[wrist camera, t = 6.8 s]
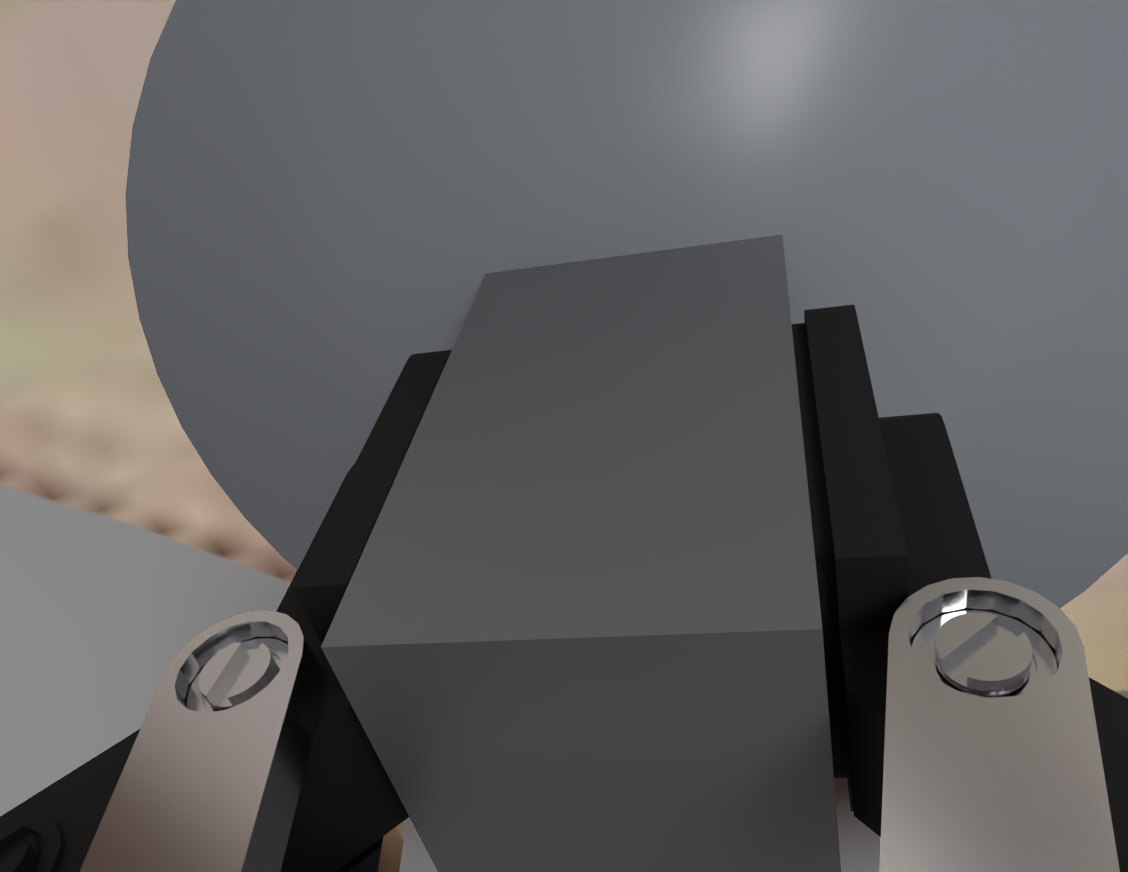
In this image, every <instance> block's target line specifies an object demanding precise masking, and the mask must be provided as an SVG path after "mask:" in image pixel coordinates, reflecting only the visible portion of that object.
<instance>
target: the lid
mask: <svg viewBox="0 0 1128 872" xmlns="http://www.w3.org/2000/svg"><path fill="white" fill-rule="evenodd" d="M126 211H127V235H128V258H129V263H130V269H131V274H132V280H133V285H134V291H135V296H136V302H137V307H138V313H139V318H140V321H141V324H142V327H143V331H144V334H145V337H146V340H147V343H148V346H149V349H150V352H151V355H152V358H153V362H154V365H155V368H156V371H157V374H158V376H159V378H160V381H161V383H162V385H163V387H164V389H165V391H166V393H167V396H168V398H169V400H170V402H171V404H172V406H173V408H174V411H175V413H176V415H177V417H178V419H179V421H180V424H181V426H182V428H183V429H184V431H185V432H186V434H187V436H188V437H189V439H190V441H191V442H192V444H193V445H194V447H195V449H196V450H197V452H198V454H199V455H200V457H201V458H202V460H203V462H204V463H205V465H206V467H207V468H208V470H209V471H210V473H211V475H212V476H213V477H214V478H215V480H216V481H217V482H218V484H219V485H220V486H221V487H222V489H223V490H224V491H225V493H226V494H227V495H228V496H229V498H230V499H231V500H232V502H233V503H234V504H235V505H236V507H237V508H238V509H239V511H240V512H241V513H242V514H243V516H244V517H245V518H246V519H247V520H248V521H249V522H250V523H251V524H252V525H253V526H254V527H255V529H256V530H257V531H258V532H259V533H260V534H261V535H262V536H263V537H264V538H265V539H266V540H267V541H268V542H269V543H270V544H271V545H272V546H273V547H274V548H275V549H276V550H277V551H278V552H279V554H280V555H281V556H282V557H284V558H285V559H286V560H287V561H288V562H289V563H291V564H292V565H293V566H294V567H295V568H296V569H298V568H299V566H300V564H301V563H302V561H303V559H304V557H305V555H306V553H307V551H308V549H309V547H310V545H311V543H312V541H313V539H314V537H315V535H316V533H317V531H318V529H319V527H320V525H321V523H322V521H323V519H324V517H325V515H326V514H327V512H328V510H329V508H330V506H331V504H332V502H333V500H334V498H335V496H336V494H337V492H338V490H339V488H340V486H341V484H342V482H343V480H344V478H345V476H346V474H347V473H348V471H349V470H350V469H351V467H352V466H353V465H354V464H355V462H356V460H357V458H358V457H359V455H360V453H361V451H362V449H363V447H364V445H365V443H366V441H367V439H368V437H369V435H370V433H371V431H372V429H373V427H374V425H375V423H376V421H377V419H378V417H379V415H380V413H381V411H382V409H383V407H384V405H385V403H386V401H387V399H388V397H389V395H390V393H391V391H392V389H393V387H394V385H395V383H396V381H397V379H398V378H399V376H400V374H401V372H402V370H403V368H404V366H405V364H406V362H407V360H408V358H409V357H410V356H411V355H412V354H418V353H427V352H436V351H445V350H452V351H451V353H450V356H449V358H448V360H447V362H446V365H445V367H444V369H443V371H442V374H441V376H440V378H439V380H438V383H437V385H436V387H435V390H434V392H433V394H432V396H431V399H430V401H429V403H428V405H427V408H426V410H425V412H424V414H423V417H422V419H421V421H420V424H419V426H418V428H417V430H416V433H415V435H414V437H413V439H412V442H411V444H410V446H409V449H408V451H407V453H406V455H405V458H404V460H403V462H402V464H401V467H400V469H399V471H398V473H397V476H396V478H395V480H394V483H393V485H392V487H391V489H390V492H389V494H388V496H387V498H386V501H385V503H384V505H383V507H382V510H381V512H380V514H379V517H378V519H377V521H376V523H375V526H374V528H373V530H372V532H371V535H370V537H369V539H368V541H367V544H366V546H365V548H364V551H363V553H362V555H361V557H360V560H359V562H358V564H357V566H356V569H355V571H354V573H353V575H352V578H351V580H350V582H349V585H348V587H347V589H346V591H345V594H344V596H343V598H342V600H341V603H340V605H339V607H338V609H337V612H336V614H335V616H334V619H333V621H332V623H331V625H330V628H329V630H328V632H327V634H326V637H325V639H324V641H323V643H322V646H321V648H322V650H323V652H324V654H325V656H326V658H327V660H328V662H329V664H330V665H331V667H332V669H333V671H334V673H335V675H336V677H337V679H338V681H339V683H340V685H341V687H342V688H343V690H344V692H345V694H346V696H347V698H348V700H349V702H350V704H351V706H352V708H353V710H354V711H355V713H356V715H357V717H358V719H359V721H360V723H361V725H362V727H363V729H364V731H365V733H366V734H367V736H368V738H369V740H370V742H371V744H372V746H373V748H374V750H375V752H376V754H377V755H378V757H379V759H380V761H381V763H382V765H383V767H384V769H385V771H386V773H387V775H388V777H389V778H390V780H391V782H392V784H393V786H394V788H395V790H396V792H397V794H398V796H399V798H400V800H401V801H402V803H403V805H404V807H405V809H406V811H407V813H408V815H409V817H410V819H411V821H412V822H413V824H414V826H415V828H416V830H417V832H418V834H419V836H420V838H421V840H422V841H423V843H424V845H425V847H426V849H427V851H428V853H429V855H430V857H431V859H432V861H433V862H434V865H435V867H436V868H437V870H438V872H841V866H840V853H839V841H838V827H837V814H836V801H835V788H834V774H833V761H832V748H831V735H830V722H829V709H828V695H827V682H826V669H825V656H824V643H823V630H822V620H821V610H820V600H819V590H818V580H817V571H816V561H815V551H814V541H813V531H812V521H811V511H810V502H809V492H808V482H807V472H806V462H805V452H804V443H803V433H802V423H801V413H800V403H799V393H798V383H797V374H796V364H795V354H794V344H793V334H792V324H798V323H805V320H804V310H809V309H818V308H826V307H835V306H844V305H853V304H854V305H855V309H856V313H857V318H858V323H859V327H860V332H861V337H862V342H863V346H864V351H865V356H866V360H867V365H868V370H869V374H870V379H871V384H872V389H873V393H874V398H875V403H876V407H877V412H878V417H879V418H881V417H893V416H904V415H916V414H928V413H939V414H940V415H941V416H942V419H943V421H944V424H945V427H946V430H947V433H948V437H949V440H950V443H951V447H952V450H953V453H954V456H955V460H956V463H957V466H958V470H959V473H960V476H961V479H962V483H963V486H964V489H965V493H966V496H967V499H968V502H969V506H970V509H971V512H972V516H973V519H974V522H975V525H976V529H977V532H978V535H979V539H980V542H981V545H982V548H983V552H984V555H985V558H986V562H987V565H988V568H989V571H990V575H991V578H992V579H995V580H1002V581H1008V582H1011V583H1013V584H1016V585H1019V586H1021V587H1024V588H1027V589H1029V590H1032V591H1035V592H1037V593H1038V594H1040V595H1041V596H1043V597H1044V598H1046V599H1047V600H1049V601H1050V602H1052V603H1053V604H1055V605H1056V606H1058V607H1059V608H1061V607H1062V606H1064V605H1065V604H1067V603H1068V602H1069V601H1071V600H1072V599H1074V598H1075V597H1077V596H1078V595H1079V594H1081V593H1082V592H1084V591H1085V590H1086V589H1087V588H1088V587H1090V586H1091V585H1092V584H1093V583H1094V582H1095V581H1096V580H1098V579H1099V578H1100V577H1101V576H1102V575H1103V574H1104V573H1106V572H1107V571H1108V570H1109V569H1110V568H1111V567H1112V566H1113V565H1115V564H1116V563H1117V562H1118V561H1119V560H1120V559H1121V558H1123V557H1124V556H1125V555H1126V554H1127V553H1128V0H176V2H175V4H174V6H173V9H172V11H171V13H170V16H169V18H168V20H167V22H166V25H165V27H164V29H163V32H162V34H161V36H160V38H159V41H158V43H157V45H156V48H155V50H154V52H153V54H152V57H151V59H150V63H149V67H148V71H147V74H146V78H145V82H144V86H143V90H142V94H141V97H140V101H139V105H138V109H137V113H136V116H135V120H134V124H133V129H132V139H131V148H130V158H129V168H128V177H127V187H126Z"/></svg>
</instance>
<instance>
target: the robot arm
mask: <svg viewBox="0 0 1128 872" xmlns="http://www.w3.org/2000/svg"><path fill="white" fill-rule="evenodd" d="M804 320H805V323H798V324H792V334H793V344H794V354H795V364H796V374H797V383H798V393H799V403H800V413H801V423H802V433H803V443H804V452H805V462H806V472H807V482H808V492H809V502H810V511H811V521H812V531H813V541H814V551H815V561H816V571H817V580H818V590H819V600H820V610H821V620H822V630H823V643H824V656H825V669H826V682H827V695H828V709H829V722H830V735H831V748H832V761H833V774H834V778H847V779H848V788H849V798H850V806H851V811H854V816H855V817H856V818H858V819H859V820H860V821H861V822H863V823H864V824H865V825H866V826H868V827H869V828H870V829H871V830H873V831H874V832H875V833H876V834H878V835H879V836H880V837H881V844H880V870H879V872H1128V699H1127V698H1125V697H1123V696H1122V695H1120V694H1118V693H1116V692H1115V691H1113V690H1111V689H1109V688H1107V687H1106V686H1104V685H1102V684H1100V683H1098V682H1096V681H1095V680H1093V679H1091V678H1089V676H1088V670H1087V663H1086V657H1085V651H1084V647H1083V644H1082V642H1081V639H1080V636H1079V634H1078V631H1077V629H1076V626H1075V625H1074V624H1073V623H1072V622H1071V621H1070V619H1069V618H1068V617H1067V616H1066V615H1065V614H1064V613H1063V611H1062V610H1061V609H1060V608H1059V607H1058V606H1056V605H1055V604H1053V603H1052V602H1050V601H1049V600H1047V599H1046V598H1044V597H1043V596H1041V595H1040V594H1038V593H1037V592H1035V591H1032V590H1029V589H1027V588H1024V587H1021V586H1019V585H1016V584H1013V583H1011V582H1008V581H1002V580H995V579H992V578H991V575H990V571H989V568H988V565H987V562H986V558H985V555H984V552H983V548H982V545H981V542H980V539H979V535H978V532H977V529H976V525H975V522H974V519H973V516H972V512H971V509H970V506H969V502H968V499H967V496H966V493H965V489H964V486H963V483H962V479H961V476H960V473H959V470H958V466H957V463H956V460H955V456H954V453H953V450H952V447H951V443H950V440H949V437H948V433H947V430H946V427H945V424H944V421H943V419H942V416H941V415H940V414H939V413H928V414H916V415H904V416H893V417H881V418H879V417H878V412H877V407H876V403H875V398H874V393H873V389H872V384H871V379H870V374H869V370H868V365H867V360H866V356H865V351H864V346H863V342H862V337H861V332H860V327H859V323H858V318H857V313H856V309H855V305H854V304H853V305H844V306H835V307H826V308H818V309H809V310H804ZM451 351H452V350H445V351H436V352H427V353H418V354H412V355H411V356H410V357H409V358H408V360H407V362H406V364H405V366H404V368H403V370H402V372H401V374H400V376H399V378H398V379H397V381H396V383H395V385H394V387H393V389H392V391H391V393H390V395H389V397H388V399H387V401H386V403H385V405H384V407H383V409H382V411H381V413H380V415H379V417H378V419H377V421H376V423H375V425H374V427H373V429H372V431H371V433H370V435H369V437H368V439H367V441H366V443H365V445H364V447H363V449H362V451H361V453H360V455H359V457H358V458H357V460H356V462H355V464H354V465H353V466H352V467H351V469H350V470H349V471H348V473H347V474H346V476H345V478H344V480H343V482H342V484H341V486H340V488H339V490H338V492H337V494H336V496H335V498H334V500H333V502H332V504H331V506H330V508H329V510H328V512H327V514H326V515H325V517H324V519H323V521H322V523H321V525H320V527H319V529H318V531H317V533H316V535H315V537H314V539H313V541H312V543H311V545H310V547H309V549H308V551H307V553H306V555H305V557H304V559H303V561H302V563H301V564H300V566H299V568H298V570H297V572H296V574H295V576H294V578H293V580H292V582H291V584H290V586H289V588H288V590H287V592H286V594H285V596H284V598H283V600H282V602H281V604H280V606H279V608H278V610H277V612H276V611H272V610H266V611H265V610H264V611H250V612H246V613H243V614H239V615H235V616H232V617H229V618H227V619H225V620H223V621H221V622H219V623H217V624H215V625H213V626H211V627H209V628H207V629H206V630H204V631H203V632H202V633H200V634H199V635H197V636H196V637H195V638H193V639H192V640H191V641H189V643H187V645H186V646H185V647H184V648H183V649H182V650H181V651H180V652H179V653H178V654H177V655H176V656H175V657H174V658H173V660H172V662H171V664H170V665H169V667H168V669H167V670H166V672H165V674H164V675H163V677H162V680H161V682H160V685H159V687H158V689H157V691H156V694H155V696H154V698H153V701H152V703H151V705H150V708H149V710H148V712H147V715H146V717H145V720H144V722H143V724H142V727H141V729H139V730H138V731H136V732H134V733H133V734H131V735H130V736H128V737H126V738H125V739H124V740H122V741H120V742H119V743H117V744H115V745H114V746H112V747H111V748H109V749H108V750H106V751H104V752H103V753H101V754H99V755H98V756H96V757H95V758H93V759H91V760H90V761H88V762H87V763H85V764H84V765H82V766H80V767H79V768H77V769H76V770H74V771H72V772H71V773H69V774H68V775H66V776H64V777H63V778H61V779H60V780H58V781H56V782H55V783H53V784H52V785H50V786H48V787H47V788H45V789H44V790H43V791H41V792H39V793H37V794H36V795H34V796H33V797H31V798H29V799H28V800H26V801H25V802H23V803H22V804H20V805H18V806H17V807H15V808H14V809H12V810H10V811H9V812H7V813H6V814H4V815H3V816H1V817H0V872H399V869H400V862H401V855H402V847H403V823H402V822H403V821H404V820H406V819H407V818H408V817H409V815H408V813H407V811H406V809H405V807H404V805H403V803H402V801H401V800H400V798H399V796H398V794H397V792H396V790H395V788H394V786H393V784H392V782H391V780H390V778H389V777H388V775H387V773H386V771H385V769H384V767H383V765H382V763H381V761H380V759H379V757H378V755H377V754H376V752H375V750H374V748H373V746H372V744H371V742H370V740H369V738H368V736H367V734H366V733H365V731H364V729H363V727H362V725H361V723H360V721H359V719H358V717H357V715H356V713H355V711H354V710H353V708H352V706H351V704H350V702H349V700H348V698H347V696H346V694H345V692H344V690H343V688H342V687H341V685H340V683H339V681H338V679H337V677H336V675H335V673H334V671H333V669H332V667H331V665H330V664H329V662H328V660H327V658H326V656H325V654H324V652H323V650H322V648H321V646H322V643H323V641H324V639H325V637H326V634H327V632H328V630H329V628H330V625H331V623H332V621H333V619H334V616H335V614H336V612H337V609H338V607H339V605H340V603H341V600H342V598H343V596H344V594H345V591H346V589H347V587H348V585H349V582H350V580H351V578H352V575H353V573H354V571H355V569H356V566H357V564H358V562H359V560H360V557H361V555H362V553H363V551H364V548H365V546H366V544H367V541H368V539H369V537H370V535H371V532H372V530H373V528H374V526H375V523H376V521H377V519H378V517H379V514H380V512H381V510H382V507H383V505H384V503H385V501H386V498H387V496H388V494H389V492H390V489H391V487H392V485H393V483H394V480H395V478H396V476H397V473H398V471H399V469H400V467H401V464H402V462H403V460H404V458H405V455H406V453H407V451H408V449H409V446H410V444H411V442H412V439H413V437H414V435H415V433H416V430H417V428H418V426H419V424H420V421H421V419H422V417H423V414H424V412H425V410H426V408H427V405H428V403H429V401H430V399H431V396H432V394H433V392H434V390H435V387H436V385H437V383H438V380H439V378H440V376H441V374H442V371H443V369H444V367H445V365H446V362H447V360H448V358H449V356H450V353H451Z"/></svg>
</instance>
